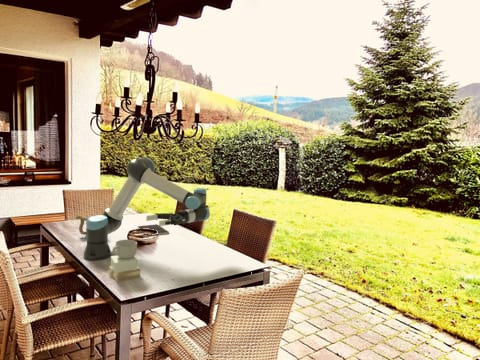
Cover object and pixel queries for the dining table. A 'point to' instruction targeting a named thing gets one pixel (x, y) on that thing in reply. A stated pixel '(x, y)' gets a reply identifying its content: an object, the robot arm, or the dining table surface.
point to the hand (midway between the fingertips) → (152, 220)
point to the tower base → (124, 274)
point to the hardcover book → (155, 228)
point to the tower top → (123, 264)
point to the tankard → (82, 225)
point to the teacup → (125, 249)
